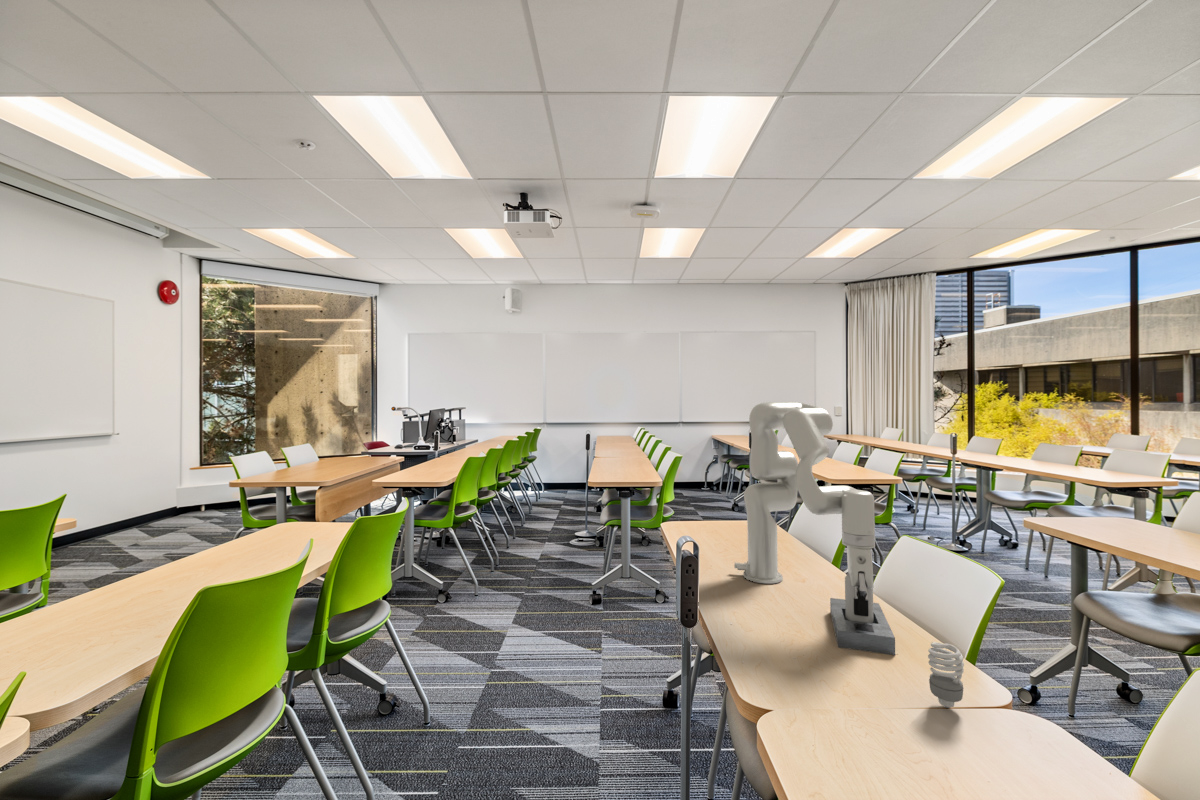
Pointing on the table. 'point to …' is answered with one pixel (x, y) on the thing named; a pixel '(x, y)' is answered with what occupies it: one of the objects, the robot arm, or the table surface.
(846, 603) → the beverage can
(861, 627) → the gray slotted block
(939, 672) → the light bulb
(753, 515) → the robot arm
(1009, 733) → the table surface
